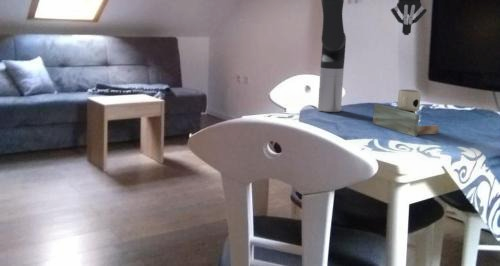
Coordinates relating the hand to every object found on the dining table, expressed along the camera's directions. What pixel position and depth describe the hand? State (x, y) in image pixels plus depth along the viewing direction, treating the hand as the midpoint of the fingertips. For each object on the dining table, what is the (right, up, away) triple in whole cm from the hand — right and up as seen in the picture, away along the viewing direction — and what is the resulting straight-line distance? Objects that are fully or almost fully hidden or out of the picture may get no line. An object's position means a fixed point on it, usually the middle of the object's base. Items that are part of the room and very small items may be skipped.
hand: (406, 34), depth 178 cm
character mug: (-4, -35, -14) cm, 38 cm away
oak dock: (-4, -34, -13) cm, 37 cm away
